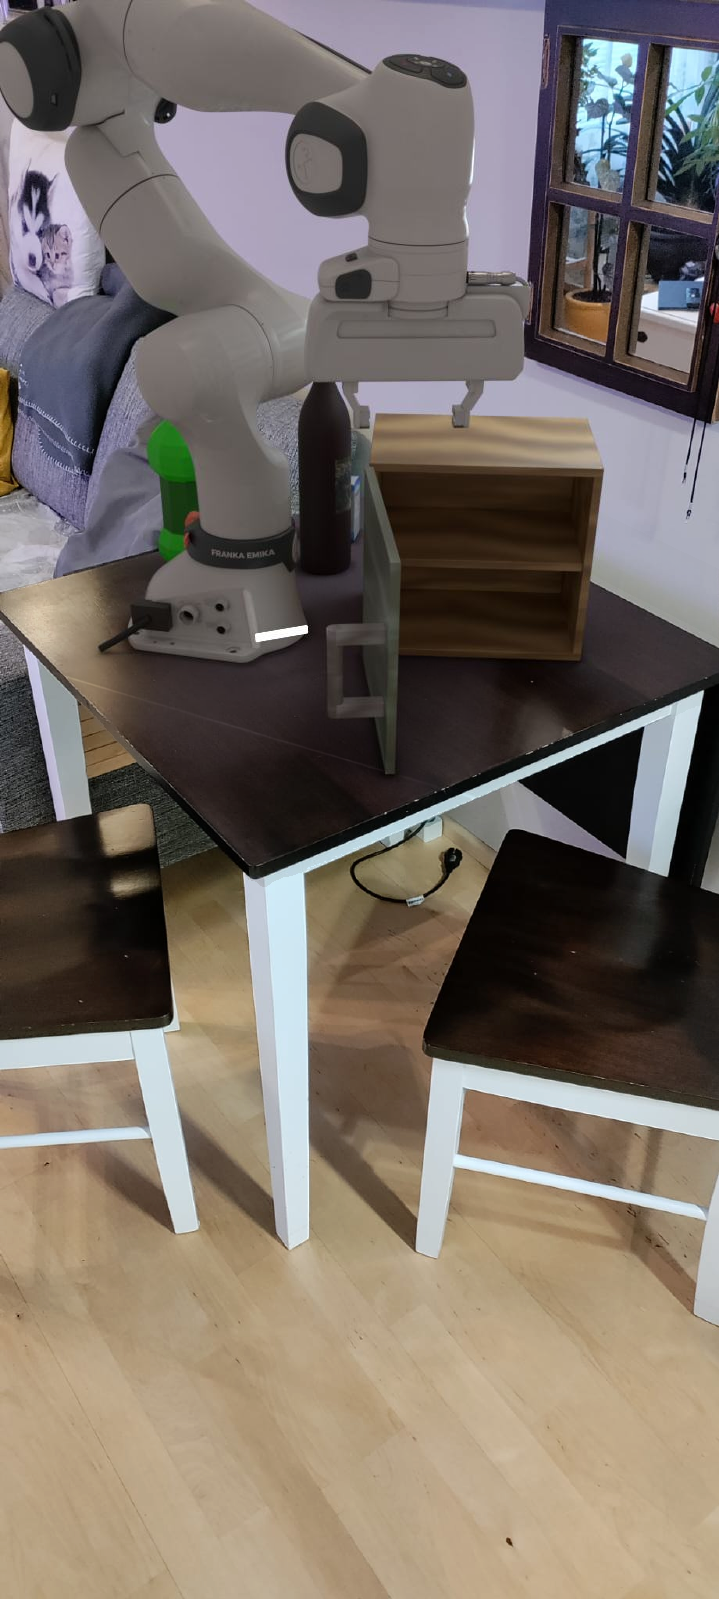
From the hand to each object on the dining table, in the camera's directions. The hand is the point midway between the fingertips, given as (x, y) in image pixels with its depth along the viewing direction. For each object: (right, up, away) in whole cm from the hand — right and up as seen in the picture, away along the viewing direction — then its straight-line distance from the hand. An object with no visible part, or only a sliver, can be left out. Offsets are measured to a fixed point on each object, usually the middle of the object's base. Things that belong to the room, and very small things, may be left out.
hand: (410, 426), depth 115 cm
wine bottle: (-10, -3, +55) cm, 56 cm away
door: (-6, -25, +22) cm, 34 cm away
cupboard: (+9, -13, +40) cm, 43 cm away
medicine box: (-9, +4, +64) cm, 65 cm away
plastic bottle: (-28, -3, +54) cm, 61 cm away
